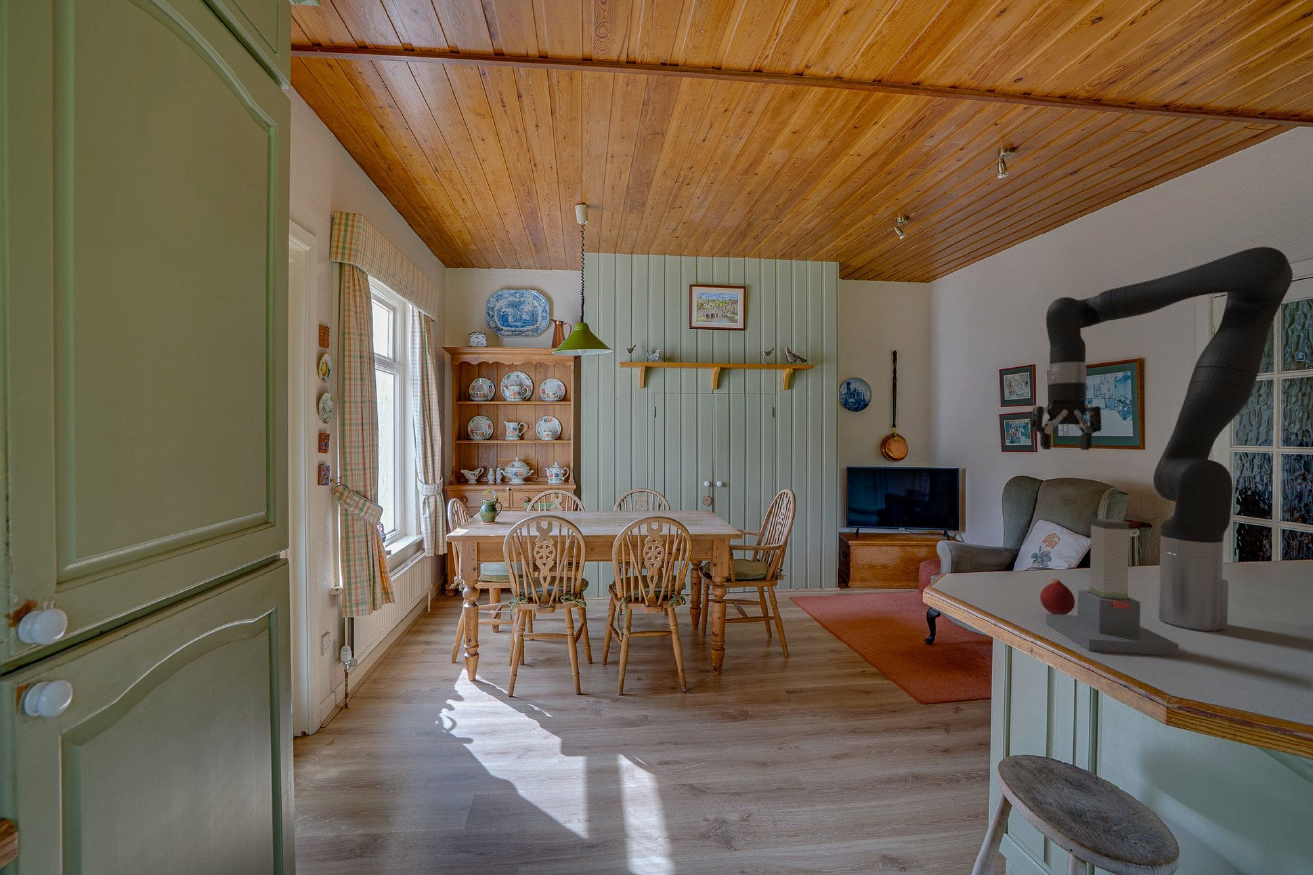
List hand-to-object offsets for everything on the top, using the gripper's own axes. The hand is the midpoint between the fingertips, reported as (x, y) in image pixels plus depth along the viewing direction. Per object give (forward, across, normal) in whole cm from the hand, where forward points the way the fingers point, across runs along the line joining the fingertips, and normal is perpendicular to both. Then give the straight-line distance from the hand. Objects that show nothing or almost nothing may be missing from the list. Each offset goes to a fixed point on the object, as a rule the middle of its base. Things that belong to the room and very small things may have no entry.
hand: (1065, 449), depth 138 cm
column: (+26, +10, +34) cm, 44 cm away
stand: (+34, +10, +34) cm, 49 cm away
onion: (+34, +12, +22) cm, 43 cm away
